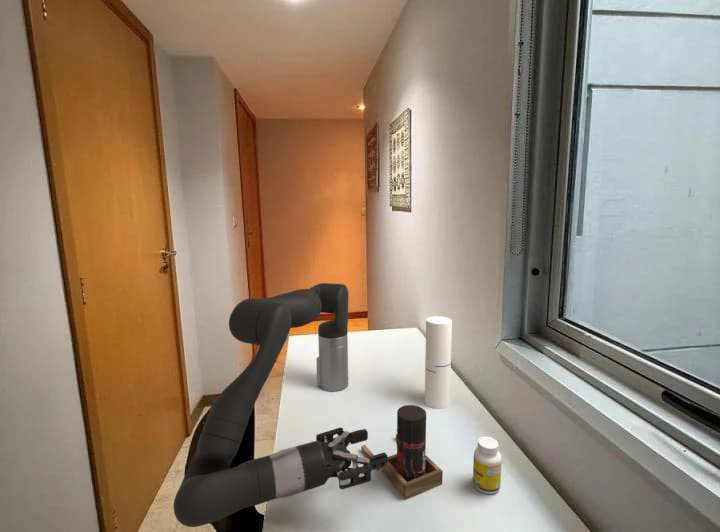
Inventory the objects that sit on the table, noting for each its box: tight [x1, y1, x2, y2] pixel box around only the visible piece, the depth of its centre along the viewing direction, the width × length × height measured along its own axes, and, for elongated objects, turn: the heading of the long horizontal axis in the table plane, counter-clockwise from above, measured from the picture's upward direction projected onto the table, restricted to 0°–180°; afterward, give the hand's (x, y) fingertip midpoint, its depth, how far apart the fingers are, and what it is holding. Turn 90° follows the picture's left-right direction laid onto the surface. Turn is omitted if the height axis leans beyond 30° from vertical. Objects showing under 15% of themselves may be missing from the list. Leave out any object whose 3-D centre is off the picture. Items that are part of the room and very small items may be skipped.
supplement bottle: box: [472, 436, 503, 495], centre depth 78 cm, size 5×5×10 cm
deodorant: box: [396, 404, 427, 482], centre depth 80 cm, size 6×6×15 cm
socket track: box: [360, 433, 444, 500], centre depth 85 cm, size 18×11×3 cm, turn 27°
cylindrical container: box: [424, 315, 453, 410], centre depth 110 cm, size 7×7×25 cm
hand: (376, 445), depth 76 cm, fingers open, 8 cm apart
